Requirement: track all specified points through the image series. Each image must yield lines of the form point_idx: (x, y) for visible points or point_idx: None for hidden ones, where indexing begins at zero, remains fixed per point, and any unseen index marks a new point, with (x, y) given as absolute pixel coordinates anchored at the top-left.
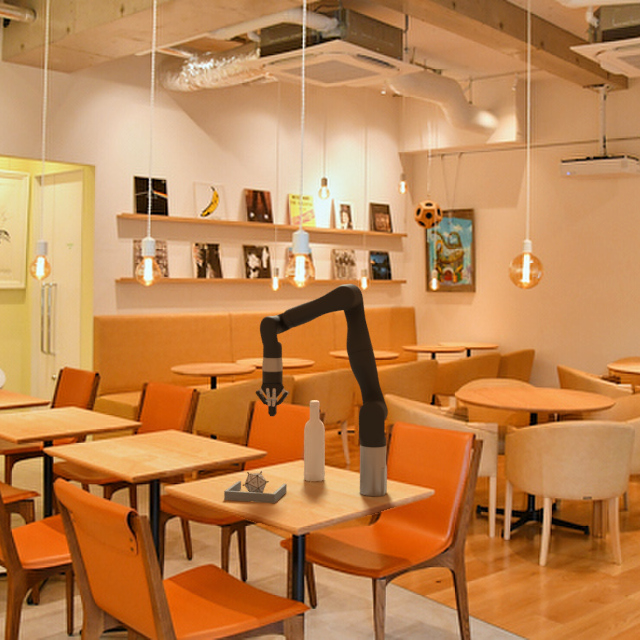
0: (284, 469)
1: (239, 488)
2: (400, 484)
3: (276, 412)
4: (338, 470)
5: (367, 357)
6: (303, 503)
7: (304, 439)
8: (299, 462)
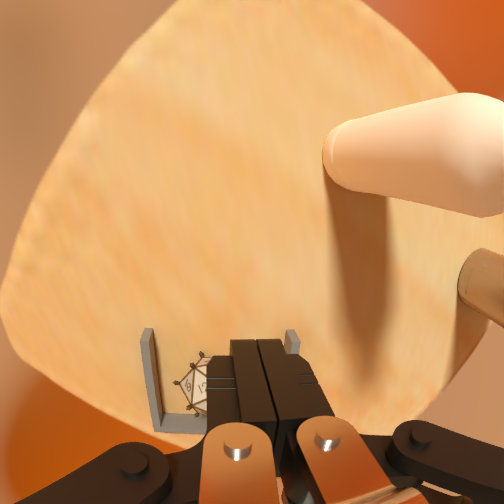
0: (222, 29)
1: (152, 343)
2: None
3: (309, 372)
4: (394, 36)
5: None
6: (344, 398)
7: (402, 167)
8: None
